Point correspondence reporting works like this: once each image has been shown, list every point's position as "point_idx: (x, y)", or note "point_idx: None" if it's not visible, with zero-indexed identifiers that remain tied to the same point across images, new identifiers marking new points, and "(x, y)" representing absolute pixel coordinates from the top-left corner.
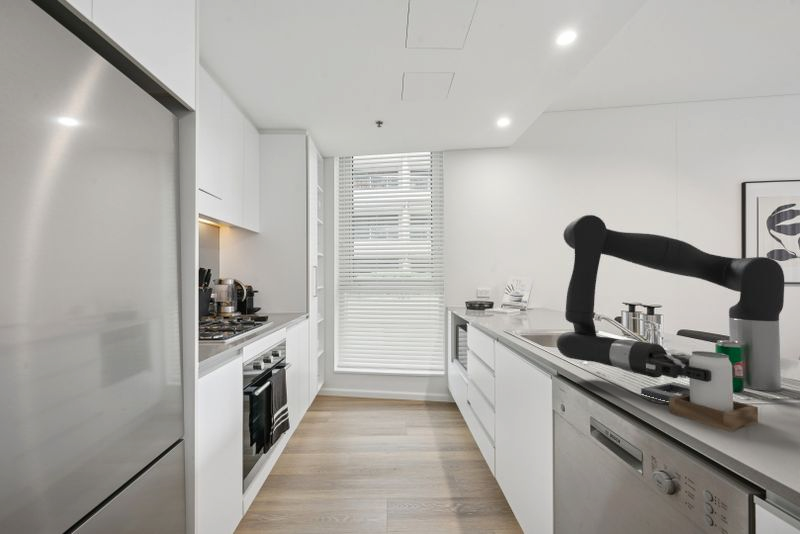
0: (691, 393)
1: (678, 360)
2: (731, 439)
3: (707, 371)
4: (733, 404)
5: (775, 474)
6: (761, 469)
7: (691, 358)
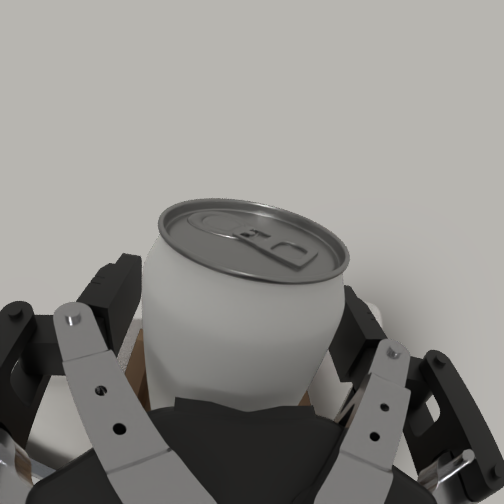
0: None
1: (381, 378)
2: (324, 362)
3: (348, 288)
4: (145, 374)
5: (370, 309)
6: (375, 316)
7: (335, 311)
